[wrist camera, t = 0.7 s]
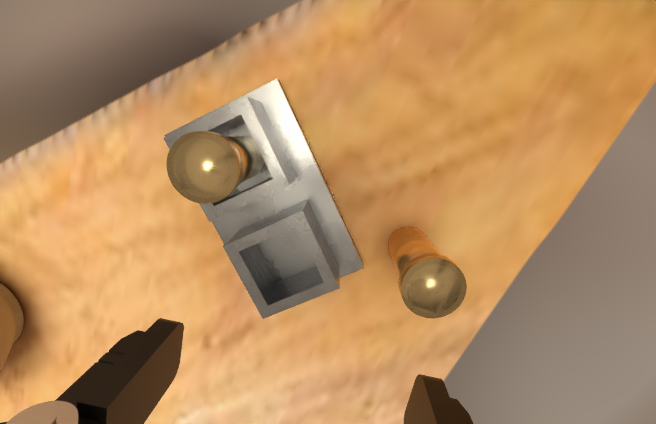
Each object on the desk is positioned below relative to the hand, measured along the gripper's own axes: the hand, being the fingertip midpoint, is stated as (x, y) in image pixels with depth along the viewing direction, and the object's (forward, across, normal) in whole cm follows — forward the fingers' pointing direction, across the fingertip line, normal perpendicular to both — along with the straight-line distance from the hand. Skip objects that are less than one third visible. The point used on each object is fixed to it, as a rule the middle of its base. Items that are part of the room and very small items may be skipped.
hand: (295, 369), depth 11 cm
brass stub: (+24, -9, +2) cm, 25 cm away
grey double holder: (+24, +6, 0) cm, 24 cm away
